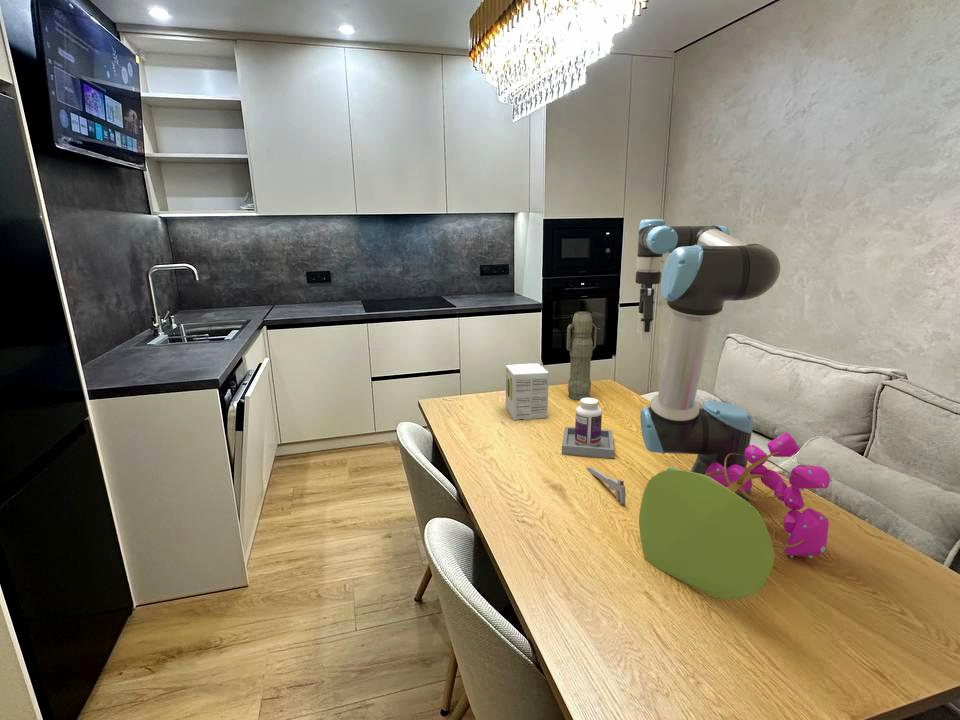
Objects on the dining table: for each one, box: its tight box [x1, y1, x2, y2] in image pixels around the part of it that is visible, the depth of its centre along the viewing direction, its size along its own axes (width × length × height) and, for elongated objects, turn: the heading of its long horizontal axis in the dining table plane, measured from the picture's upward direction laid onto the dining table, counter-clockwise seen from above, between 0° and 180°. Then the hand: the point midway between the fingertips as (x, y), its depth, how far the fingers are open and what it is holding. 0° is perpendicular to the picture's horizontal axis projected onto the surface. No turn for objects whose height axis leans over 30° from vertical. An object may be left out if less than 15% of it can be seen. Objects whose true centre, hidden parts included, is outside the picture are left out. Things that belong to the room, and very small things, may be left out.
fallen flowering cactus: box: [638, 432, 833, 600], centre depth 105 cm, size 30×28×35 cm
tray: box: [561, 426, 615, 459], centre depth 158 cm, size 15×15×3 cm
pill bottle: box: [574, 397, 603, 447], centre depth 157 cm, size 8×8×14 cm
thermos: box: [566, 310, 598, 402], centre depth 199 cm, size 9×12×35 cm
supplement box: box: [505, 362, 550, 421], centre depth 185 cm, size 13×13×18 cm
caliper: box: [586, 466, 626, 506], centre depth 134 cm, size 20×1×6 cm, turn 13°
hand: (643, 337), depth 161 cm, fingers open, 13 cm apart
